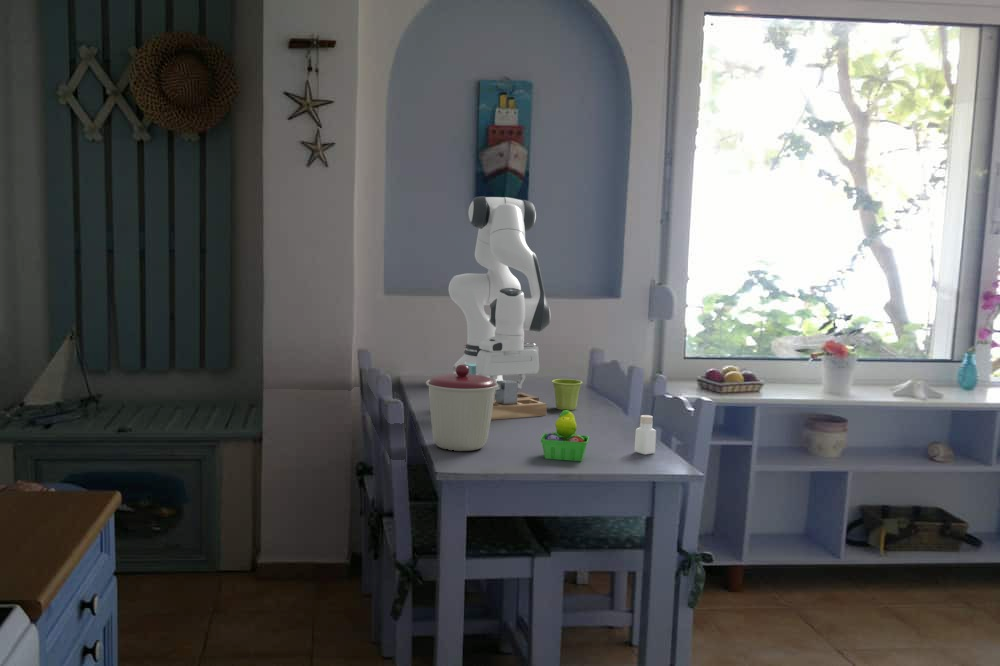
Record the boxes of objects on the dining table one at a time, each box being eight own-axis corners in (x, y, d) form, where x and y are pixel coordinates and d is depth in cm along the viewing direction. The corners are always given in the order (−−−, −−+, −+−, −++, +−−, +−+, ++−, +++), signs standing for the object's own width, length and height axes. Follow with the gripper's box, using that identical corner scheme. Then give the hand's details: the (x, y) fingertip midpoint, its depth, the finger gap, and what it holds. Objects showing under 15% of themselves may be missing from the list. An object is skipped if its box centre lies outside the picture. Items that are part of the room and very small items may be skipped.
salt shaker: (644, 450, 252) (646, 414, 251) (655, 453, 249) (658, 416, 248) (633, 452, 250) (635, 415, 249) (644, 455, 247) (646, 418, 246)
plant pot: (565, 412, 299) (566, 384, 298) (544, 407, 306) (545, 380, 305) (587, 409, 305) (588, 382, 304) (566, 404, 312) (567, 378, 311)
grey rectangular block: (495, 413, 293) (496, 380, 292) (508, 412, 295) (510, 380, 294) (503, 416, 289) (504, 383, 288) (516, 415, 292) (518, 382, 290)
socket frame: (521, 401, 315) (521, 392, 315) (538, 407, 306) (538, 397, 306) (447, 406, 301) (447, 397, 301) (462, 412, 293) (462, 402, 292)
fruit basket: (539, 459, 238) (541, 413, 237) (543, 451, 247) (545, 407, 246) (585, 463, 236) (588, 417, 235) (589, 455, 245) (591, 410, 244)
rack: (465, 414, 291) (466, 402, 291) (528, 409, 302) (528, 398, 302) (482, 420, 282) (482, 408, 282) (546, 415, 294) (546, 403, 293)
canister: (510, 449, 248) (513, 366, 245) (456, 459, 235) (459, 372, 233) (463, 436, 261) (465, 357, 258) (409, 444, 248) (411, 362, 246)
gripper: (532, 341, 298) (530, 386, 299) (474, 343, 287) (472, 389, 289) (544, 343, 293) (542, 389, 294) (484, 345, 282) (483, 393, 284)
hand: (507, 389), depth 291 cm, fingers open, 6 cm apart
